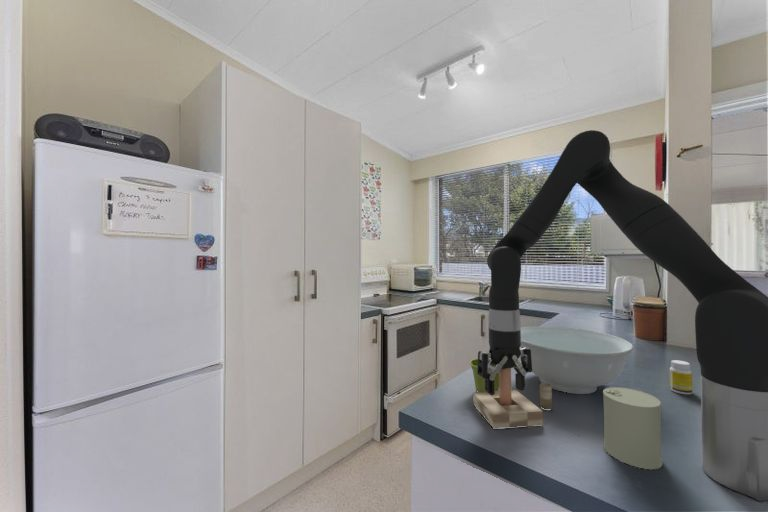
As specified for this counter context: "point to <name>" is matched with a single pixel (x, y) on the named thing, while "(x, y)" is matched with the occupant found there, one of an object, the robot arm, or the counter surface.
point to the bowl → (575, 357)
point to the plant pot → (481, 381)
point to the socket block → (508, 410)
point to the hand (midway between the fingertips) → (505, 391)
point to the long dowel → (505, 387)
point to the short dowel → (545, 396)
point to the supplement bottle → (680, 377)
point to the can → (632, 427)
